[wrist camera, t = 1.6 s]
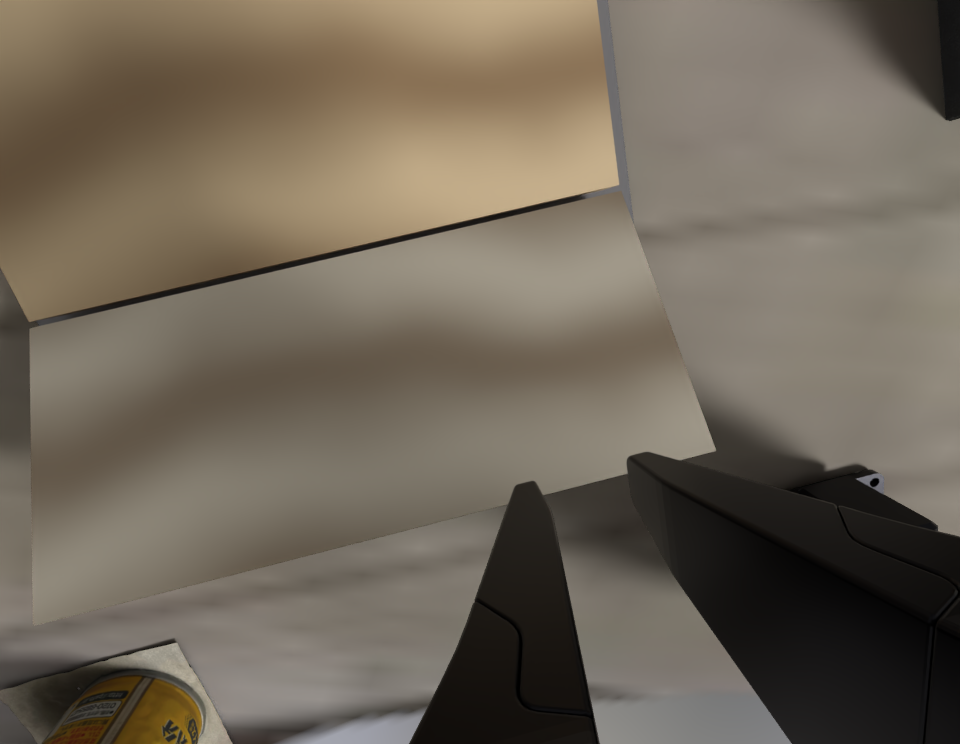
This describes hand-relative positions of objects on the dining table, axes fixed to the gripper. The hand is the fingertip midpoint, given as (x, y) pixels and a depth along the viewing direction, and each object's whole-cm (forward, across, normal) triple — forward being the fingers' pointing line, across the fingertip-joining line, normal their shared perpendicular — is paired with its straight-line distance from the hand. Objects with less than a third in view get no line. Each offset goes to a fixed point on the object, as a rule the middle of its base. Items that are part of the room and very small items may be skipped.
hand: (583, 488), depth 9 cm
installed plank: (+10, +5, -10) cm, 15 cm away
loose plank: (+7, +5, -1) cm, 9 cm away
